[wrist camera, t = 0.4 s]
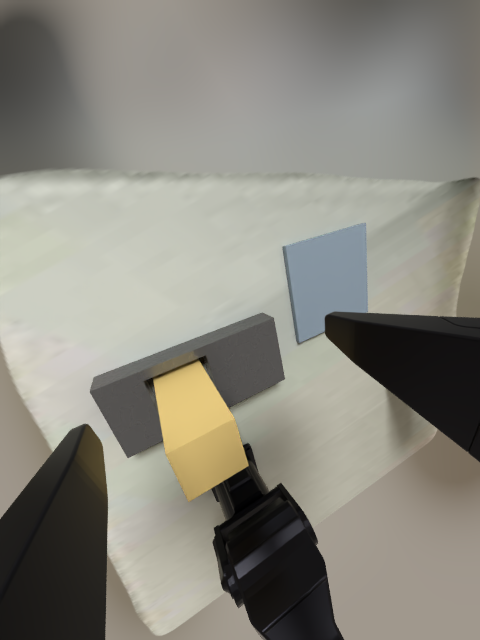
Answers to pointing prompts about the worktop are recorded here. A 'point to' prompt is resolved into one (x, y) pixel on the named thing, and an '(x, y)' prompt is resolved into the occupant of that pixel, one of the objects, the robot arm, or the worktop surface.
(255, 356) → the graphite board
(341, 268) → the slate mat
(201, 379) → the mustard block
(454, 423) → the robot arm
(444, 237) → the worktop surface
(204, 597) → the worktop surface
